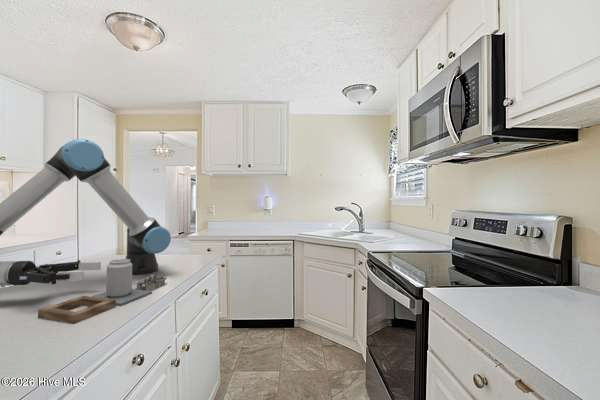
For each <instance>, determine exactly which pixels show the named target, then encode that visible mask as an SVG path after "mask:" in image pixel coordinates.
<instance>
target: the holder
mask: <svg viewBox="0 0 600 400" xmlns="http://www.w3.org/2000/svg"><path fill="white" fill-rule="evenodd" d="M81 306H84V307H85V308H82V309H78V310H77V311H74V310H73V309H77V308H79V307H81ZM114 308H117V306H116V300H112V299H105V298H98V297H91V296H89V295H82V296H77V297H76V298H72V299H69V300H66V301H63V302H59V303H56V304H53V305H50V306H45V307H44V308H40V309H38V310H37V318H38V319H42V320H48V321H53V320H54V322H59V321H62V322H61V323H65V322H67V323H66V324H71V323H72V325H74V324H77V323H79V322H82V321H84V320H86V319H89V318H91V317H94V316H97V315H100V314H102V313H104V312H106V311H109V310H111V309H114ZM70 309H71V310H70ZM72 310H73V311H72ZM81 320H82V321H81ZM76 322H77V323H76Z"/></svg>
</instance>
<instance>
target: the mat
mask: <svg viewBox="0 0 600 400" xmlns="http://www.w3.org/2000/svg"><path fill="white" fill-rule="evenodd" d="M152 293H153V290H150V291H146V290H138V289H137V288H134V289H133V288H132V291H131V292H130V293H129V294H128V295H127V296H124V297H118V298H111V297H109V296H108V295H106V291H104V292H100V293H97V294H94V295H91V296H90V297H98V298H105V299H112V300H116V307H123V306H125V305H127V304H130V303H132V302H133V303H134V301H137V300H140V299H142V298H144V297H148V296H149V295H152Z"/></svg>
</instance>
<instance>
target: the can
mask: <svg viewBox="0 0 600 400" xmlns="http://www.w3.org/2000/svg"><path fill="white" fill-rule="evenodd" d="M108 262H109V263H108V264H106V283H105V284H106V286H105V287H106V288H105V289H106V290H105V292H106V295H108V296H109V297H111V298H118V297H124V296H127V295H128V294H129V293H130V292H131V291H132V289H133V288H132V287H133V274H132V263H131V262H130V260H129V259H126V258H120V259H117V258H116V259H112V260H110V261H108Z"/></svg>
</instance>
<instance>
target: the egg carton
mask: <svg viewBox="0 0 600 400" xmlns="http://www.w3.org/2000/svg"><path fill="white" fill-rule="evenodd" d="M166 280H167V276H166V277H164V276H161V275H154V274H151V275H149V276H147V277H144V278H142V279H140V280H139V279H138V280H135V282H134V284H135V285H136V290H144V291H154V290H156V289H157V288H160V287H161V286H165V285H166Z"/></svg>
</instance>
